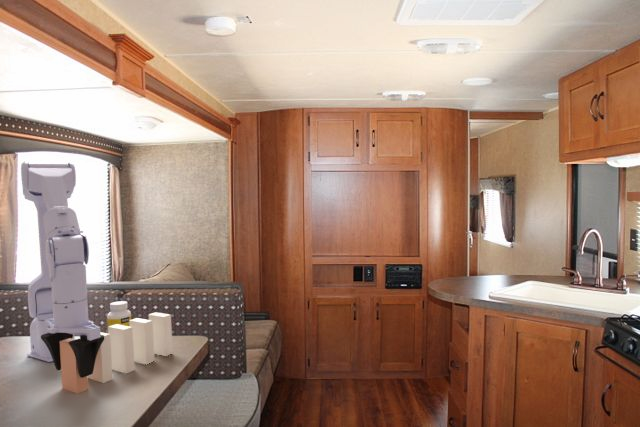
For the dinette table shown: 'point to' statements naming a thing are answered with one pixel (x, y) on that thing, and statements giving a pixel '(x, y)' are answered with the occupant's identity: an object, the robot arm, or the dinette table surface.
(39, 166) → the robot arm
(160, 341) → the domino
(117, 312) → the supplement bottle
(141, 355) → the domino
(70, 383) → the terracotta domino
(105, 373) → the domino
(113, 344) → the domino
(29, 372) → the dinette table surface
